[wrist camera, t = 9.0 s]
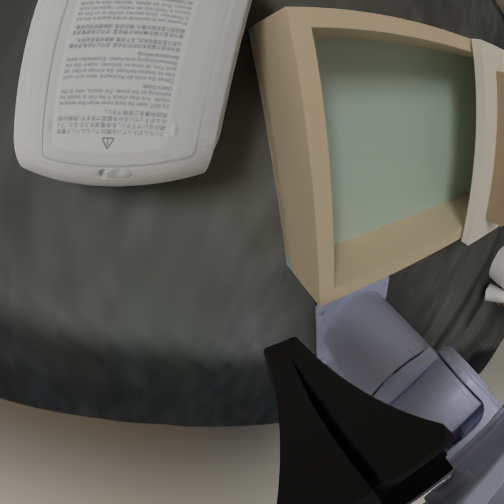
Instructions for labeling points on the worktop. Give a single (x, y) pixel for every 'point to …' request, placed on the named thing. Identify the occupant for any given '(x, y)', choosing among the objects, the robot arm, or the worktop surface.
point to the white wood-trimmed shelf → (499, 302)
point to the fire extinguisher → (496, 278)
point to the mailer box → (365, 141)
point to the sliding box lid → (487, 144)
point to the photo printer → (126, 88)
